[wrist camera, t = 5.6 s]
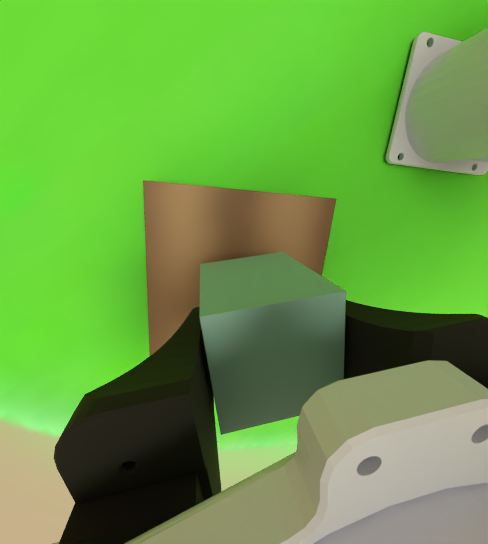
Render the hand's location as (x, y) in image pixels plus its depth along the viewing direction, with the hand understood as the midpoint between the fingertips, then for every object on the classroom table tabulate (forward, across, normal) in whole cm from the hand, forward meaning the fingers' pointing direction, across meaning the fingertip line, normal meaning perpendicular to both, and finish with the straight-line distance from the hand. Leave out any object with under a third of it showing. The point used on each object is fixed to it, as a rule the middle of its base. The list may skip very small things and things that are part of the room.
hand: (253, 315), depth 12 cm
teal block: (+2, 0, 0) cm, 2 cm away
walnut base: (+8, 0, 0) cm, 8 cm away
